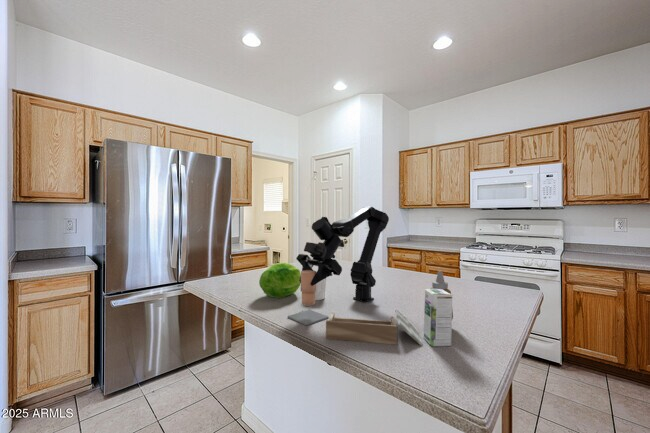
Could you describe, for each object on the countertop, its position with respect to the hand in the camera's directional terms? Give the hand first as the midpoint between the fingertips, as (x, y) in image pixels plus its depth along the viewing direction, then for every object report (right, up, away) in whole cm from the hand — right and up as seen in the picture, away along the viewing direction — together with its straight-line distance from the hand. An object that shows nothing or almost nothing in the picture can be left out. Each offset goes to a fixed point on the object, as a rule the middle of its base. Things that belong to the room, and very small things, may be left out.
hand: (305, 283), depth 97 cm
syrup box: (+39, -13, -17) cm, 44 cm away
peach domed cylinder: (+1, -7, +1) cm, 7 cm away
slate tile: (+1, -12, +1) cm, 12 cm away
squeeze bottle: (+44, -13, -6) cm, 46 cm away
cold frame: (+21, -13, -10) cm, 27 cm away
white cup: (+3, -12, +24) cm, 27 cm away
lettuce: (-12, -12, +27) cm, 32 cm away
